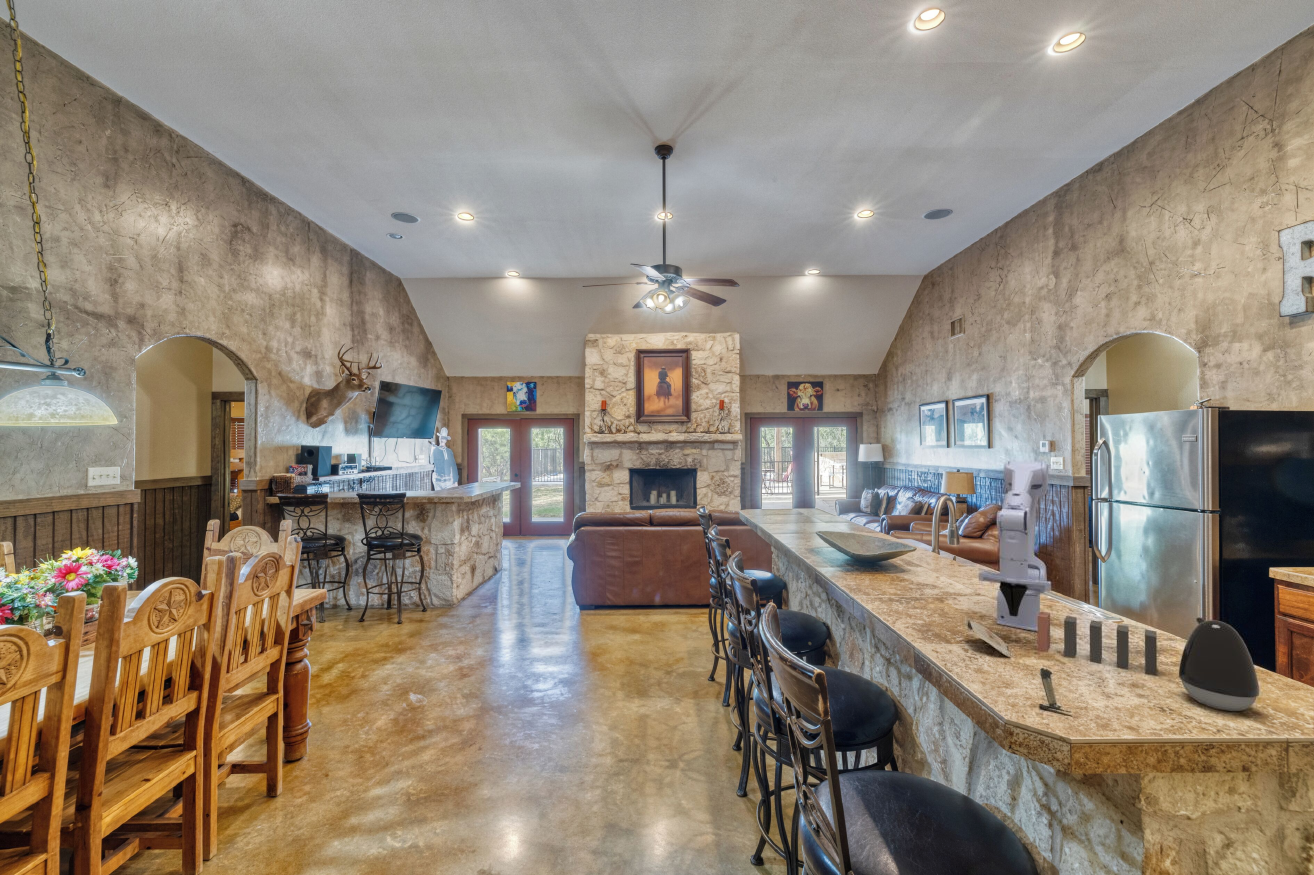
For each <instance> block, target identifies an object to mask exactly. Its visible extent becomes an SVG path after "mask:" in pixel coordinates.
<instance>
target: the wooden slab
mask: <svg viewBox="0 0 1314 875" xmlns="http://www.w3.org/2000/svg"><path fill="white" fill-rule="evenodd" d="M967 628H968V630H972V632H973V633H974V635H976V636H977V637H978V638H980V639H981V640H983V641H984V642H982V644H981V645H980V647H983V646H984V645H987V644H988V645H991V646H992V647H993V648H995V650H997V651H999V652H1000V653H1001V654H1003V655H1005V656H1006V657H1008V658H1012V655H1011V652H1010V651H1009V648H1008V646H1009V645H1008V644H1007V643H1005V642H1004V640H1002V638H1000V637H999V635H998V636H997V635H996V634H995V633H994V632H992V631H990V630H989V629H988V628H986V627H985V626H983V625H981V624H980V623H979V622H976V621H972V620H968V622H967Z"/></svg>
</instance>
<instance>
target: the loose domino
mask: <svg viewBox="0 0 1314 875" xmlns="http://www.w3.org/2000/svg"><path fill="white" fill-rule="evenodd" d="M1050 648H1051V612H1048V611H1042V610H1040V613H1039V614H1038V632H1037V652H1038V651H1039V652H1043V653H1048V652H1049V650H1050Z"/></svg>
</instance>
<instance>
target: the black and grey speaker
mask: <svg viewBox="0 0 1314 875" xmlns="http://www.w3.org/2000/svg"><path fill="white" fill-rule="evenodd" d="M1195 620H1196V622H1197V624H1198V625H1196V626H1195V627H1194V629H1193V630H1192V631H1191V633H1190V635H1189V637H1188V639H1187V641H1186V643H1185V645H1184V648H1183V650H1182V654H1181V657H1180V662H1179V670H1178V677H1179V679H1180V680H1181V683H1182V686H1183V687H1184V689H1185V691H1186V692H1187V693H1188V695H1190V697H1192V698H1193V700H1196V701H1197V702H1198V703H1200V704H1203V705H1205V706H1207V707H1210V708H1213V709H1218V710H1220V711H1226V712H1227V711H1228V712H1240V711H1245V710H1248V709H1250V707H1252V706H1253V705H1254V704H1255V701H1256V699H1257V697H1259V696H1260V684H1259V679H1258V675H1257V671H1256V668H1255V665H1254V663H1253V659H1252V656H1251V654H1250V652H1249V650H1248V647H1247V645H1246V643H1245V642H1244V640H1243V638H1242V636H1241V635H1240V634H1239V633H1238V631H1237V630H1236V629H1235V628H1234V627H1232V626H1231V625H1230V624H1227V623H1226V622H1224V621H1220V620H1215V619H1214V620H1212V619H1210V620H1208V619H1207V620H1205V619H1204V618H1202V617H1197V618H1195Z"/></svg>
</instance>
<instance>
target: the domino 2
mask: <svg viewBox="0 0 1314 875" xmlns="http://www.w3.org/2000/svg"><path fill="white" fill-rule="evenodd" d="M1102 659H1103V621H1100V620H1094V619H1092V620H1090V623H1089V662H1090V663H1094V664H1098V665H1102V664H1101V663H1102Z"/></svg>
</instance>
